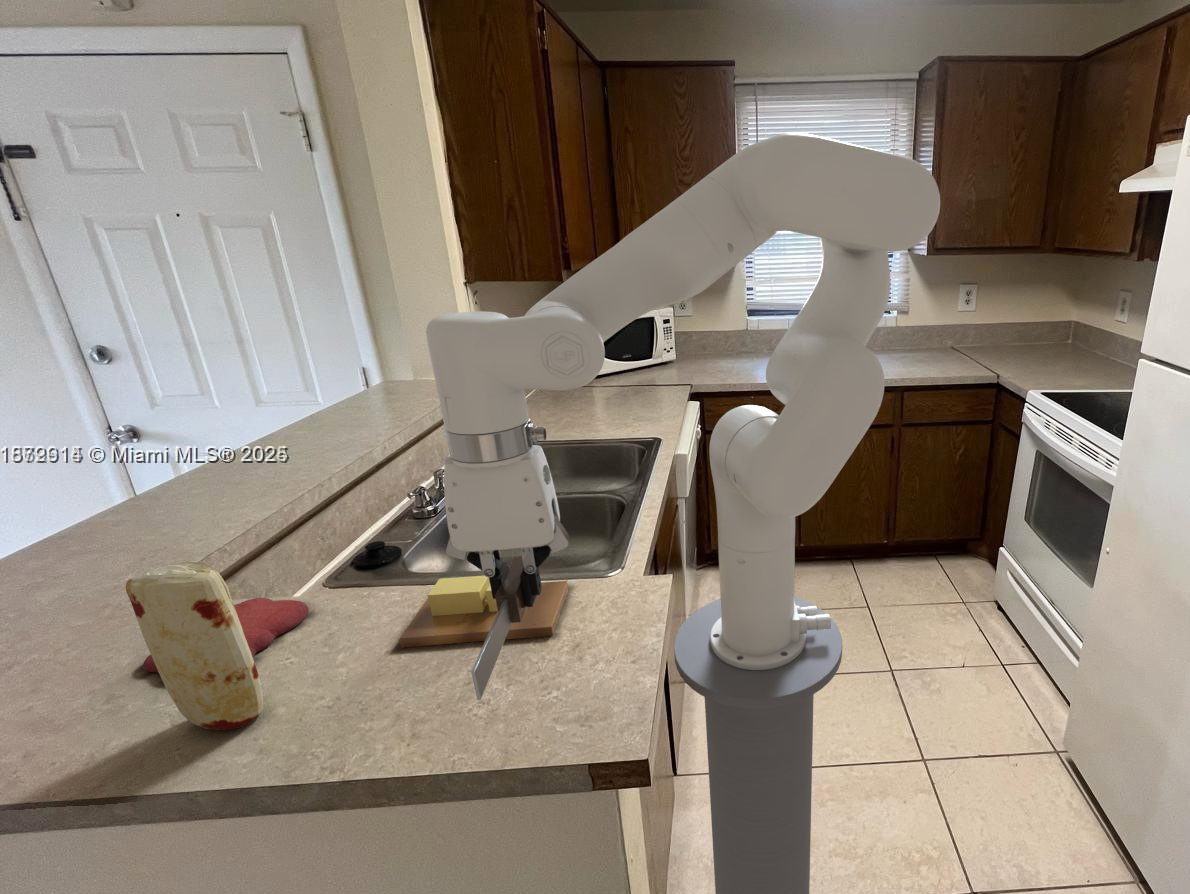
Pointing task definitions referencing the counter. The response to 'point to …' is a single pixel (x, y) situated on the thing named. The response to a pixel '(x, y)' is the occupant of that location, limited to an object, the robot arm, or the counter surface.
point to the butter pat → (491, 600)
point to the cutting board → (486, 621)
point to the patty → (261, 622)
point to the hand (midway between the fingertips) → (519, 600)
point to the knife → (500, 624)
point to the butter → (459, 595)
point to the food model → (198, 644)
